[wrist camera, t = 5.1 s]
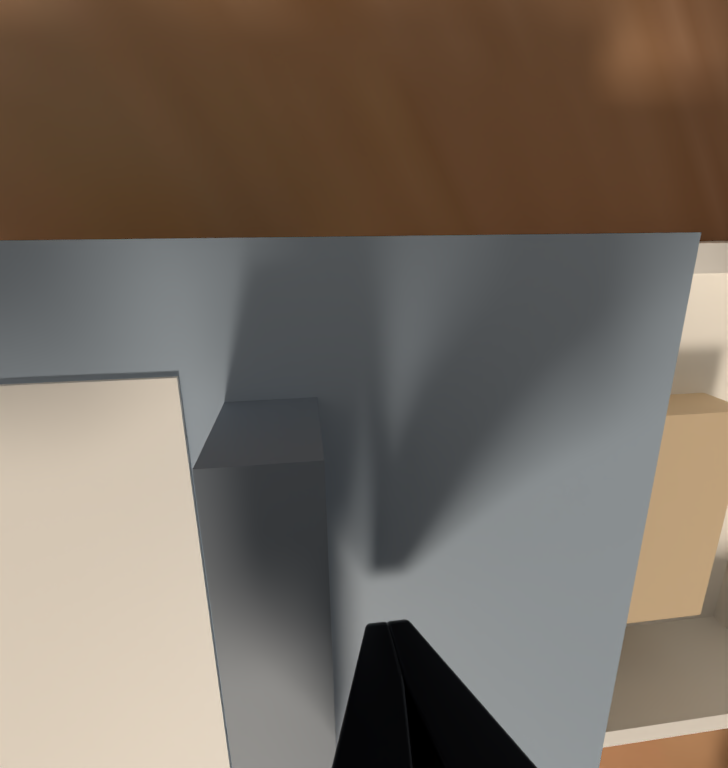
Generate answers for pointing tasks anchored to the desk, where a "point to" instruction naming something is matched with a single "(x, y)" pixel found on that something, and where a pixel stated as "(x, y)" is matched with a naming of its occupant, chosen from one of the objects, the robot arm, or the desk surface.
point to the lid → (321, 483)
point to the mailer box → (684, 541)
